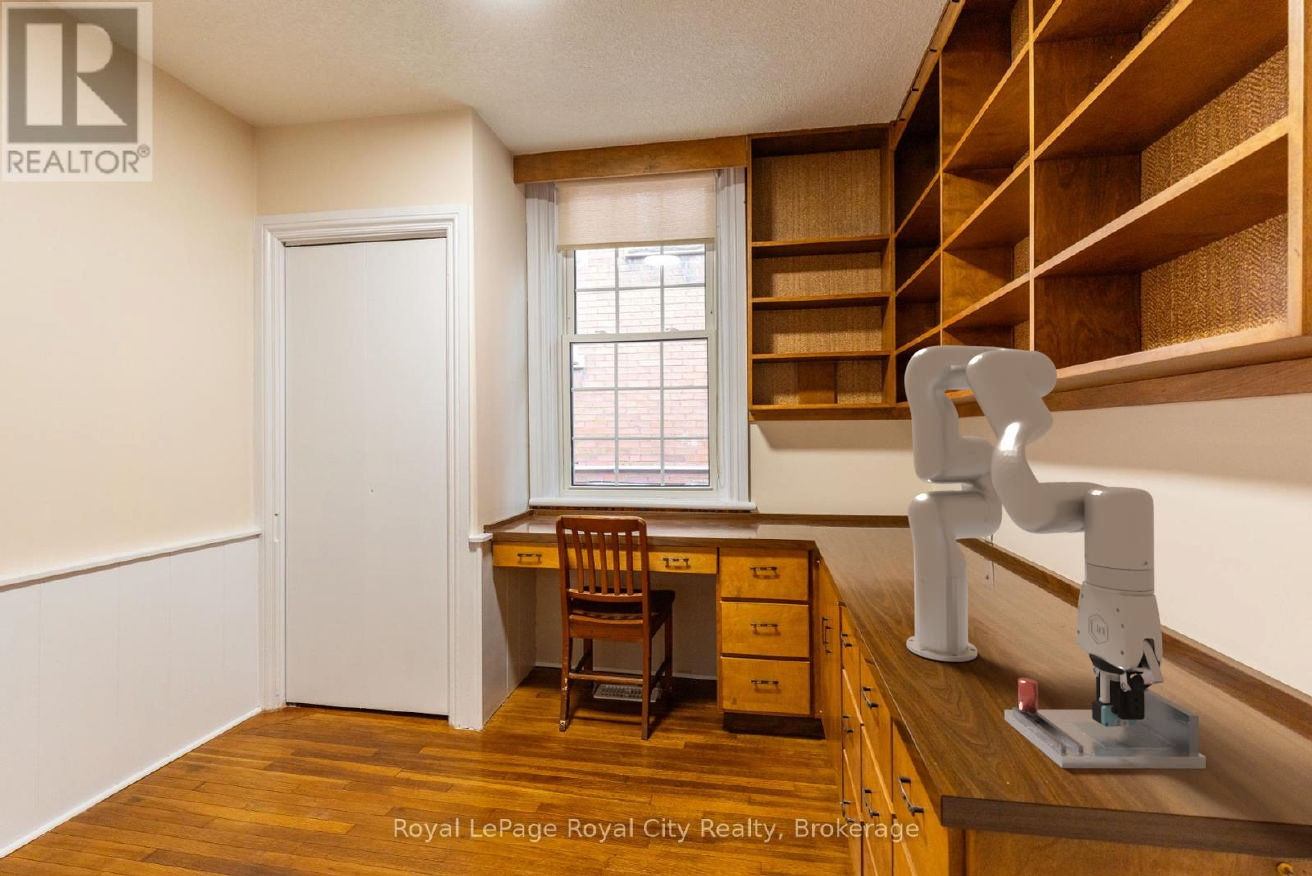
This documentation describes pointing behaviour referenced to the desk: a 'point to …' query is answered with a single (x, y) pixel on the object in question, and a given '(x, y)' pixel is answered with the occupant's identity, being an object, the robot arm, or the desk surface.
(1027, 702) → the lever
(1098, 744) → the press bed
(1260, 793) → the desk surface
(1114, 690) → the push button
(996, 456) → the robot arm
